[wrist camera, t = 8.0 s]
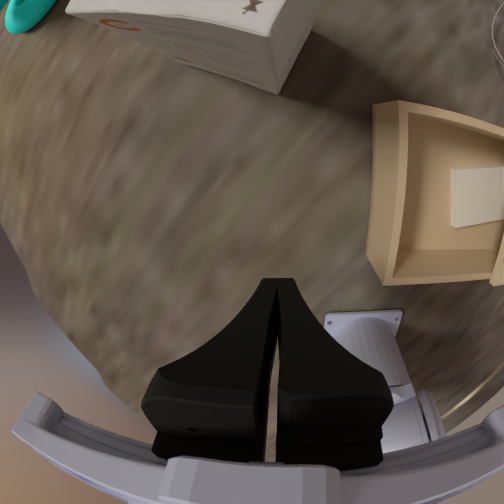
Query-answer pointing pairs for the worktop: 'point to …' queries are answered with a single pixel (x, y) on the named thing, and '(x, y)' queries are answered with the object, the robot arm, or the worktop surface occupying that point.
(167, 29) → the small box
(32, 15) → the donuts
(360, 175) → the worktop surface
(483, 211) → the note card
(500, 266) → the lid
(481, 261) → the wooden box
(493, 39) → the kitchen whisk
